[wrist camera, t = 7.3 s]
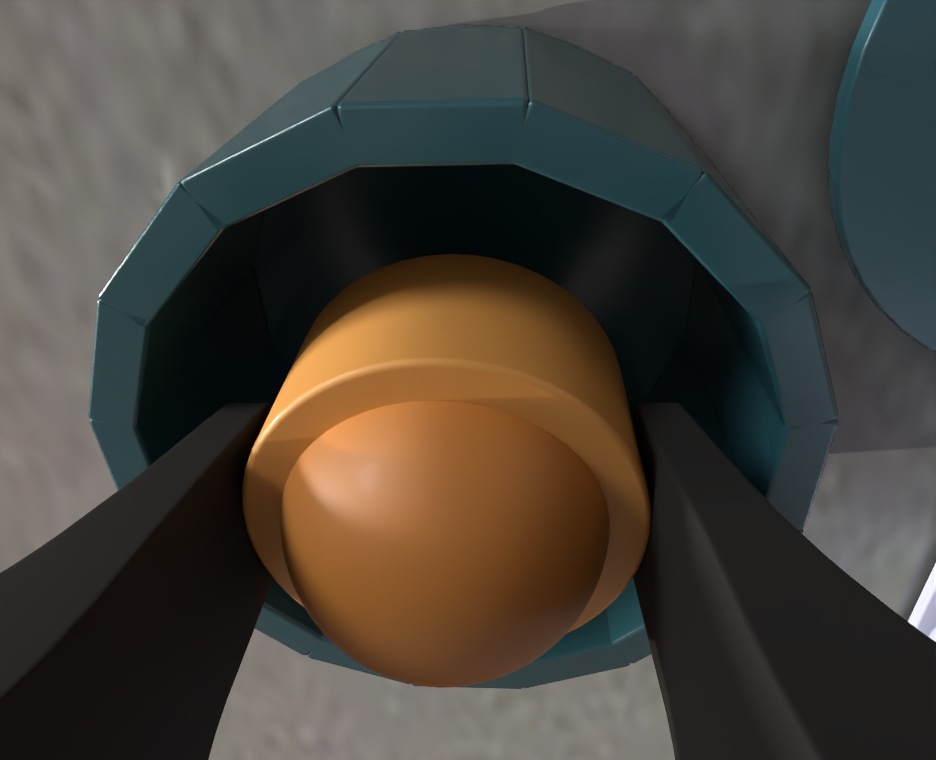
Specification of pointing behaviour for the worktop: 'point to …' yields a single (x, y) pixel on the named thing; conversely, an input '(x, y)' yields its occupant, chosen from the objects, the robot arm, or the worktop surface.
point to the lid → (890, 163)
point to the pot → (469, 233)
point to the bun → (450, 471)
